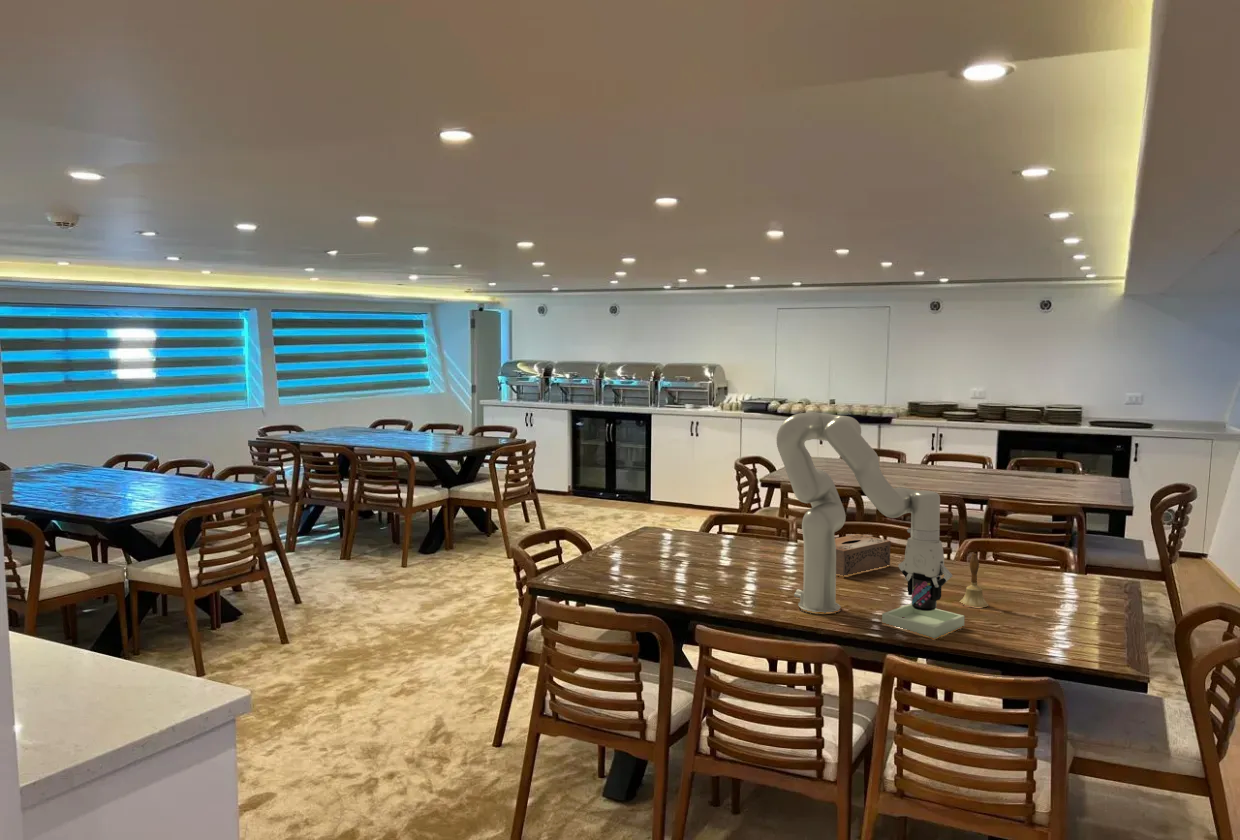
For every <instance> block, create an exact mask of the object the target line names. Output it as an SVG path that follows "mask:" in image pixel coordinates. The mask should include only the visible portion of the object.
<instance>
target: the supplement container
mask: <svg viewBox="0 0 1240 840" xmlns="http://www.w3.org/2000/svg"><path fill="white" fill-rule="evenodd" d="M936 578H937V577H936ZM933 587H934V583H933V581H932V578H929V577H926V576H925V575H924V574H919V573H914V572H913V574H912V595H911V603H912V607H913V608H915V609H917V610H921V611H932V610H935V609H937V607H938V605H937V602H938V600H937V601H933V600H932V588H933Z"/></svg>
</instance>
